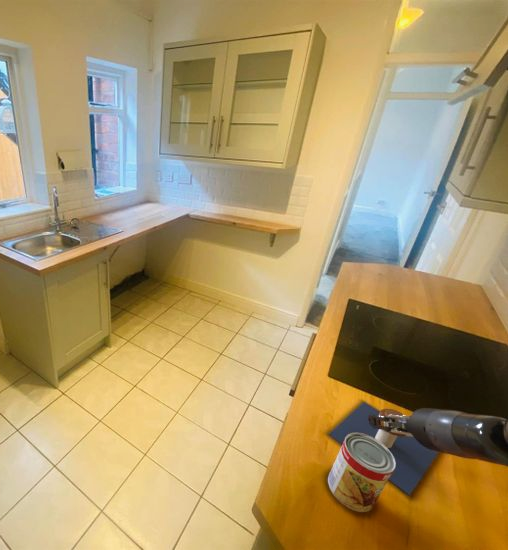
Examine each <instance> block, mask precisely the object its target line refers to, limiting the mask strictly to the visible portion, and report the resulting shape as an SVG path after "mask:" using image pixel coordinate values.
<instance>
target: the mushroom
mask: <svg viewBox="0 0 508 550" xmlns="http://www.w3.org/2000/svg"><path fill="white" fill-rule="evenodd" d="M379 411H380V413H379V415H381V416H384V417H387V416H388V415H396V416H402V415H404V413H402V412H401V411H399V410H397V409H393V408H382V409H381V410H379ZM379 415H378V416H379ZM398 419H399V418H396V419H395V422H397V420H398ZM405 420H406V419H405ZM397 429H398V428H397ZM398 430H399V429H398ZM399 431H400V430H399ZM397 436H399V437H404V436H406V435H405V434H399V433H393V432H390V431H386V430H382V429H379V431H378V433H377V434H376V436H375V439H377V440H378V441H379V442H381V443H382V444H383V445H385V446H386V447H387V448H390V447H392V445H393V443H394V441H395V440H396V438H397Z"/></svg>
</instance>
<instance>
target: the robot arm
mask: <svg viewBox="0 0 508 550" xmlns="http://www.w3.org/2000/svg"><path fill="white" fill-rule="evenodd" d="M396 418H399V419H398V420H397V422H395V419H396ZM405 419H406V420H405ZM368 420H369V424H370V425H372V427H373V428H375V429H382V430H386V431H390V432H393V433H399V434H405V435H406V436H409V437H414V438H415V439H416V440H417V441H418V442H419V443H420V444H421V445H422V446H424V447H425V448H427V449H430V450H433V451H437V452H439V453H441V454H446V455H449V456H455V457H458V458H462V459H467V460H477V461H482V462H486V463H490V464H494V465H500V466H504V467H508V417H507V418H503V417H501V416H495V415H490V414H478V413H470V412H469V413H468V412H464V411H460V410H454V409H443V408H431V407H421V408H418V409H416V410H414V411H413V412H412V413H411V415H405V414H403V415H402V416H396V415H388V416H387V417H384V416H381V415H379V416H375V415H369V417H368ZM397 428H398V429H399V430H400V431H399V430H398V429H397Z"/></svg>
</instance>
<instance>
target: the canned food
mask: <svg viewBox="0 0 508 550" xmlns="http://www.w3.org/2000/svg"><path fill="white" fill-rule="evenodd" d="M395 468H396V462H395V458H394V456H393V455H392V453H391V452H390V451H389V449H388V448H387V447H386V446H385V445H383V444H382V443H381V442H379V441H378V440H377V439H375V438H373V437H371V436H369V435H366V434H363V433H351V434H348V435H347V436H346V438H345V440H344V442H343V444H342V445H341V447H340V449H339V451H338V453H337V456H336V458H335V461H334V463H333V464H332V467H331V469H330V472H329V474H328V476H327V484H328V488H329V490H330V491H331V493H332V494H333V496H334V497H335V498H336V499H337V501H339V503H341V504H342V505H344V506H345V507H347V508H348V509H350V510H352V511H355V512H359V513H366V512H369V511H371V510H372V508H373V507H374V505H375V503H376V502H377V501H378V499H379V497H380V495H381V493H382V492H383V490H384V488H385V486H386V485H387V483H388V481H389V478H390V476H391V475H392V473H393V471H394V469H395Z"/></svg>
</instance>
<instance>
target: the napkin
mask: <svg viewBox="0 0 508 550" xmlns="http://www.w3.org/2000/svg"><path fill="white" fill-rule="evenodd" d="M380 411H381V410H379V409H377V408H375V407H373V406H372V405H370V404H368V403H367V402H366V401H363V402H362V403H361V404H360V405H359V406H358V407H357V408H355V409H354V410H353V411H352V412H351V413H350V414H348V416H347V417H345V418H344V419H343V421H341V422H340V423H339V424H338V425H337V426H336V427H335V428H334V429H332V430H331V431H330V432H329V433H328V436H330V438H332V439H333V440H335V441H336V442H337V443H339V444H340V445H341V446H342V444H343V442H344V440H345V438H346V436H347V435H348V434H351V433H363V434H366V435H369V436H371V437H373V438H375V436H376V434H377V433H378V431H379V429H375V428H373V427H372V425H370V424H369V420H368V417H369V415H375V416H378V415H379V413H380ZM388 449H389V451H390V452H391V453H392V455H393V456H394V458H395V462H396V468H395V469H394V471H393V473H392V475H391V476H390V478H389V480H388V481H389V482H390V483H391V484H393V485H394V486H396V487H397V488H398V489H400V490H401V491H402V492H403V493H405V494H406V495H407V496H410V495H411V494H412V493H413V491H414V490H415V489H416V487H417V486H418V484H419V483H420V481H421V480H422V478H423V477H424V475H425V474H426V472H427V470H428V469H429V468H430V466H431V465H432V463H433V462H434V460H435V459H436V457H437V456H438V454H439V453H440V452H437V451H433V450H430V449H427V448H425V447H424V446H422V445H421V444H420V443H419V442H418V441H417V440H416V439H415V438H414V437H409V436H404V437H399V436H397V438H396V440H395V441H394V443H393V445H392V447H390V448H388Z"/></svg>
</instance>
